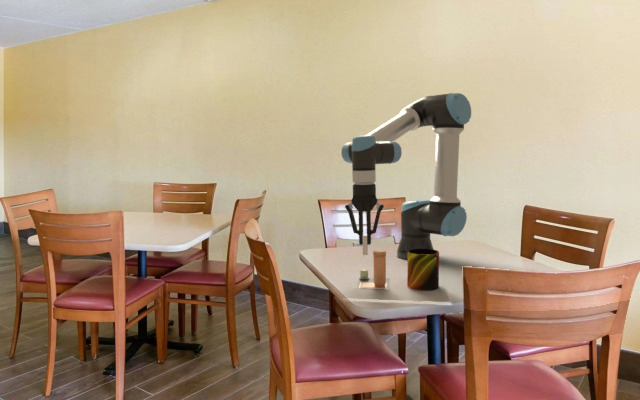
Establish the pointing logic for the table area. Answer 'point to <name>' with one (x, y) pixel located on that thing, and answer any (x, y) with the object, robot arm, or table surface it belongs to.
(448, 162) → the robot arm
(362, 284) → the clipboard
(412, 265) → the mug
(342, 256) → the table surface
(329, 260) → the table surface
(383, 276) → the orange tall block
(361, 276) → the button
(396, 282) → the table surface
